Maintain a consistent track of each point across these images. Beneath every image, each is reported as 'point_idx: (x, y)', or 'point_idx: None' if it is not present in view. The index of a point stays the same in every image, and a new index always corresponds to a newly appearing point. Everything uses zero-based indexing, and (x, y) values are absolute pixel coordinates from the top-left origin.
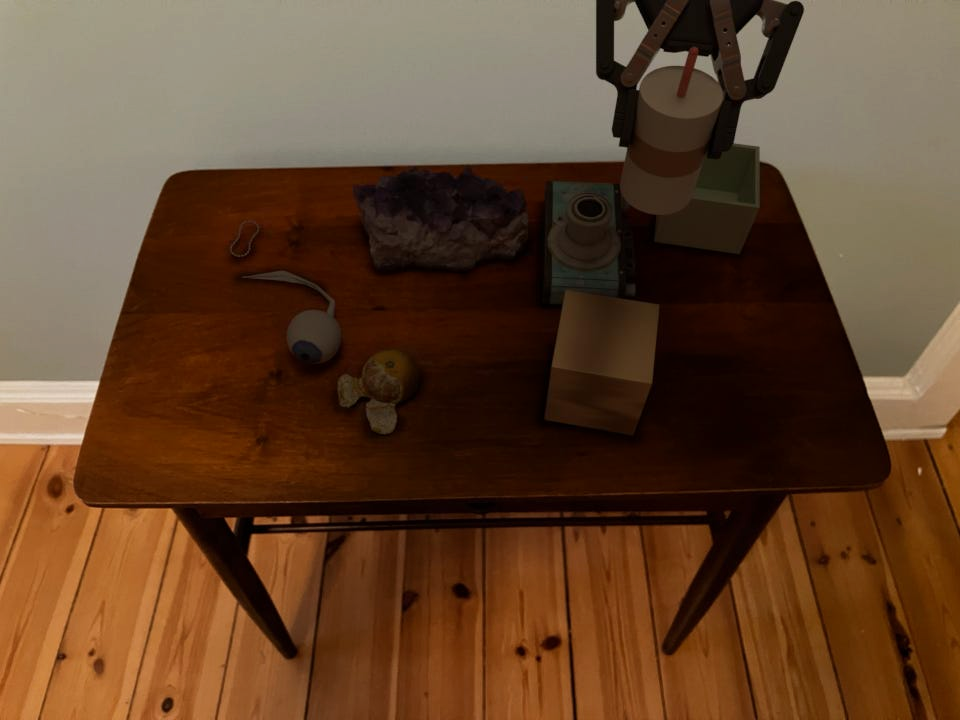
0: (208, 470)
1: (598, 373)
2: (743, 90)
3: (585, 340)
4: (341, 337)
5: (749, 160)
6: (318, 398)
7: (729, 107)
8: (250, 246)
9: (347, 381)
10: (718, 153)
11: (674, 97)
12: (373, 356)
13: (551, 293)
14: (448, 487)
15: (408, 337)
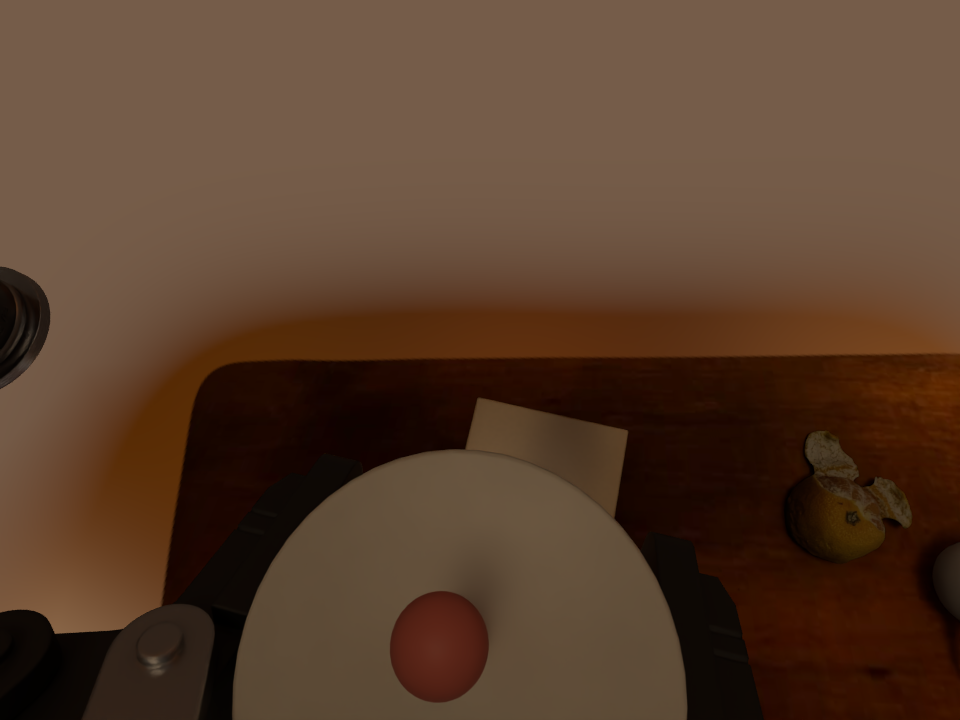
0: None
1: (556, 416)
2: (127, 645)
3: (572, 479)
4: (941, 586)
5: None
6: (928, 495)
7: (234, 585)
8: None
9: (897, 515)
10: (334, 456)
11: (503, 616)
12: (881, 537)
13: None
14: (719, 360)
15: (815, 605)
